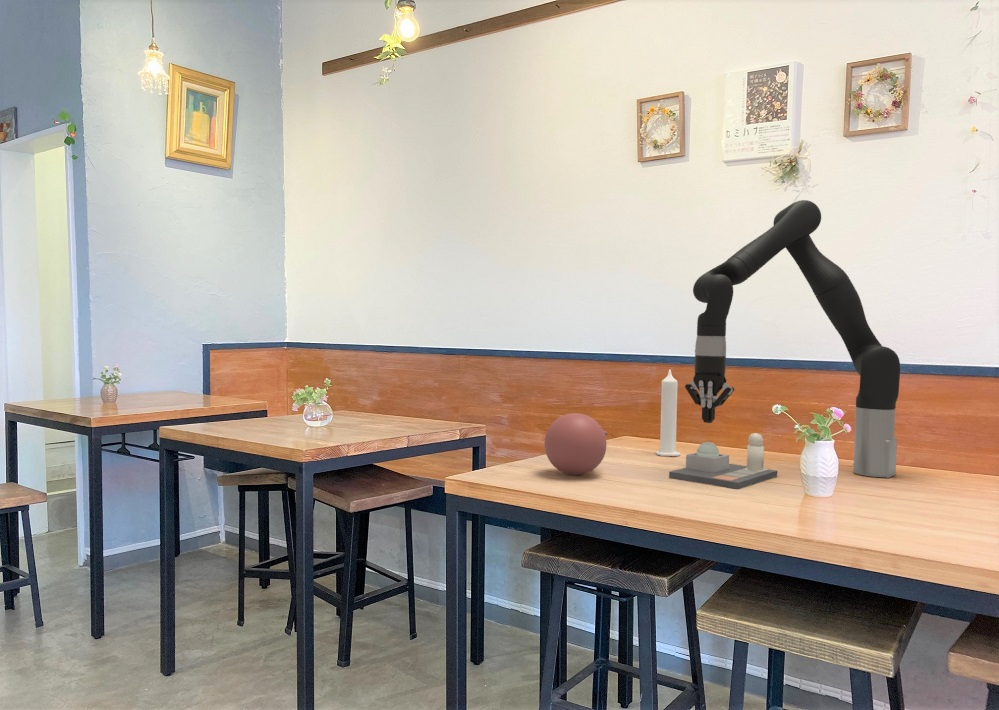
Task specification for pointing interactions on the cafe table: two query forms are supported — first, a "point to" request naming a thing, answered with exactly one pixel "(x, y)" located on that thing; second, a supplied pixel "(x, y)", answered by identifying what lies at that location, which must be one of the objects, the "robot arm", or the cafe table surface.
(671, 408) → the candle
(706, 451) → the dome
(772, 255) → the robot arm
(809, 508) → the cafe table surface
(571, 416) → the mauve rubber ball
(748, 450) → the pawn
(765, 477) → the game board
